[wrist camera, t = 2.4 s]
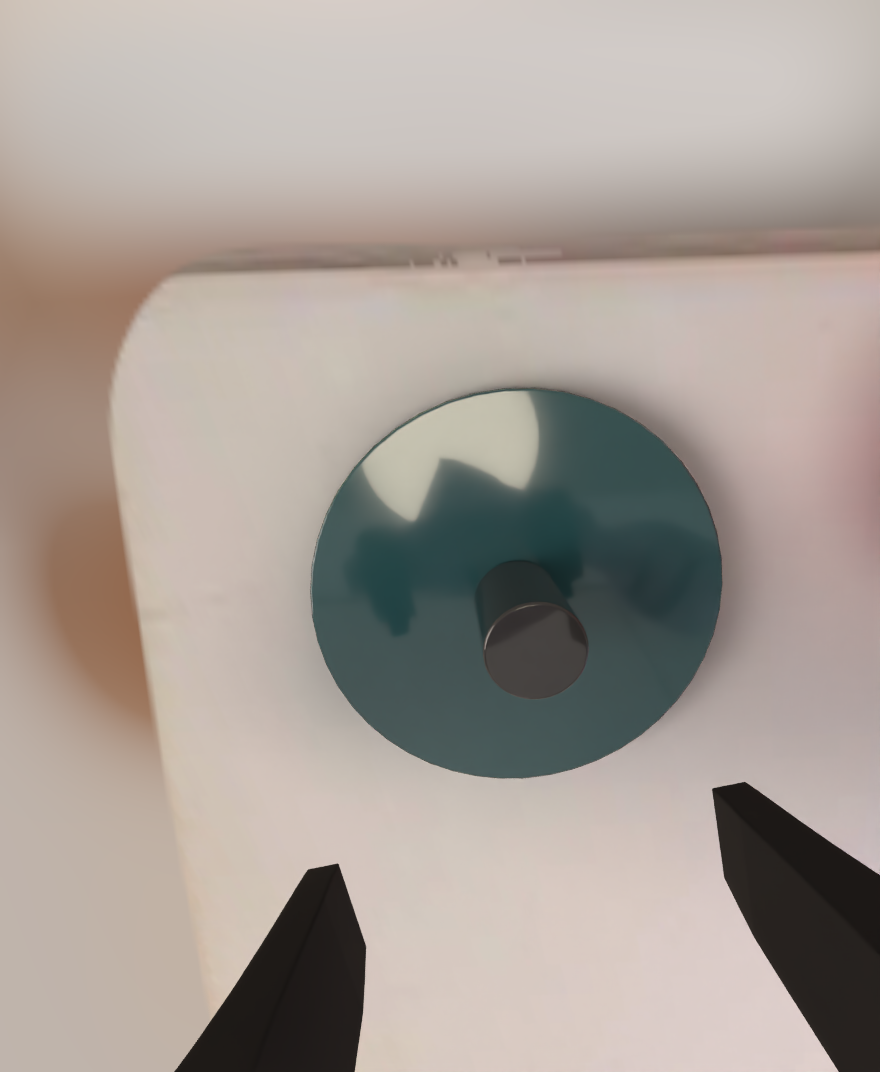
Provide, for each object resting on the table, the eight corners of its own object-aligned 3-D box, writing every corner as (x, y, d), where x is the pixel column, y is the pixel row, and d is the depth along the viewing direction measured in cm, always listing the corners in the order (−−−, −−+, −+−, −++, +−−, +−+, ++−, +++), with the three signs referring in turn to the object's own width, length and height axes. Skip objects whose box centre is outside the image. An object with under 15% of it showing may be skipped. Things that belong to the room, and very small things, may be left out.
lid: (682, 346, 17) (778, 325, 12) (722, 719, 19) (812, 820, 15) (270, 438, 17) (208, 453, 12) (370, 786, 20) (349, 904, 15)
